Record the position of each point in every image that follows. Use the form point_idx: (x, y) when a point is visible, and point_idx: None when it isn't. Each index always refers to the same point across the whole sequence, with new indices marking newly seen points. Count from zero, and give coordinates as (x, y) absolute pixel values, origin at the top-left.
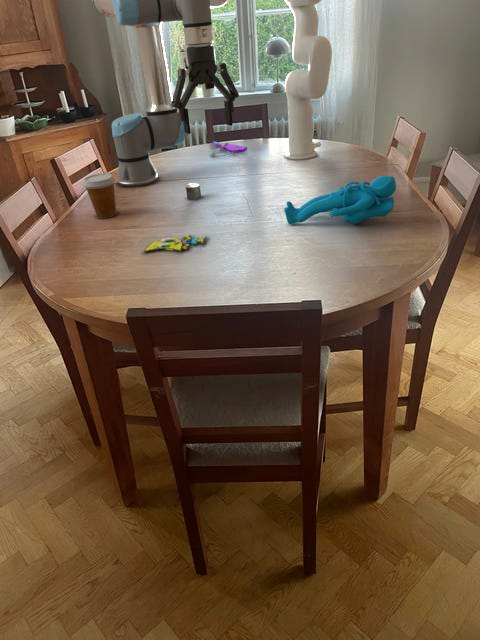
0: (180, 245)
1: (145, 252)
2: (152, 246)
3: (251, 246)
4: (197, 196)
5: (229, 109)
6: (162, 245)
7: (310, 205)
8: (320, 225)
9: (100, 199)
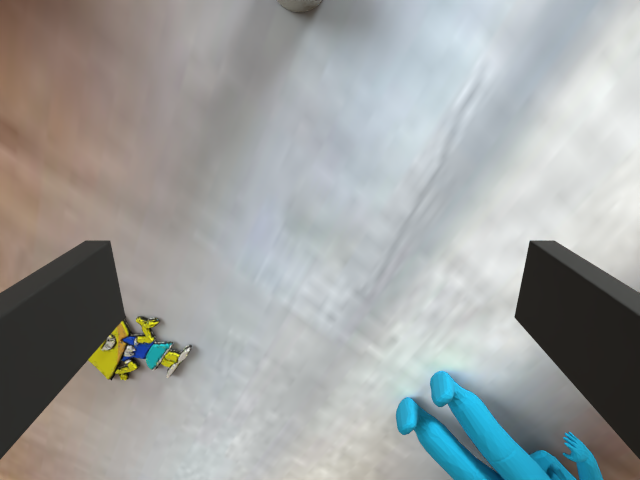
0: (114, 361)
1: None
2: None
3: (265, 435)
4: (302, 9)
5: (615, 422)
6: None
7: (454, 469)
8: None
9: None
